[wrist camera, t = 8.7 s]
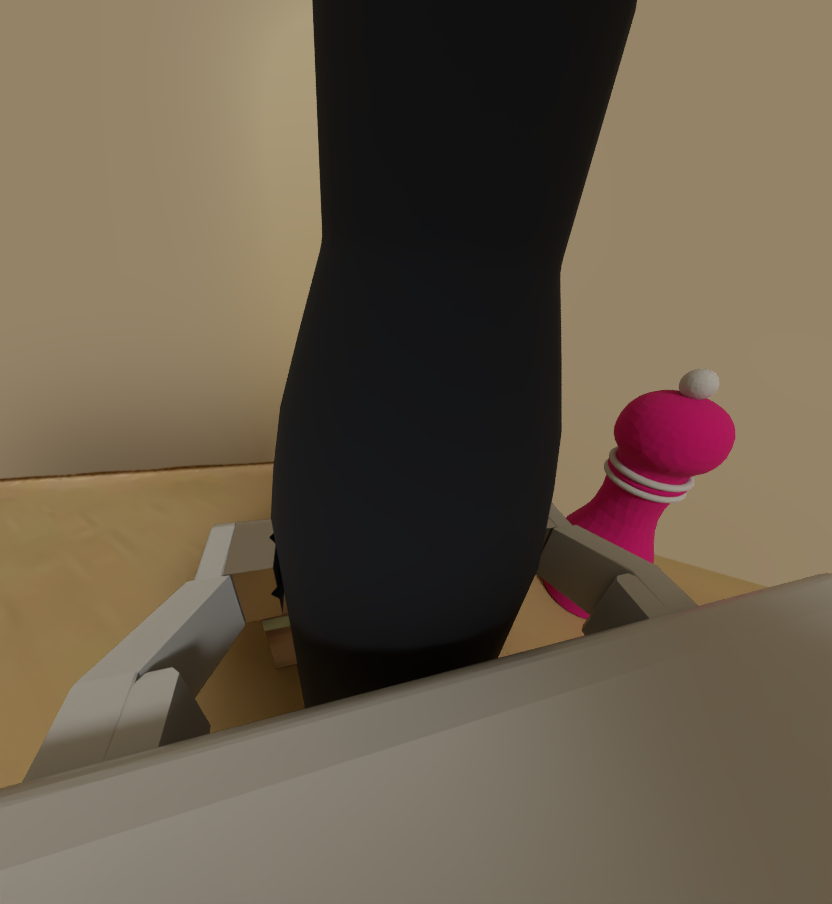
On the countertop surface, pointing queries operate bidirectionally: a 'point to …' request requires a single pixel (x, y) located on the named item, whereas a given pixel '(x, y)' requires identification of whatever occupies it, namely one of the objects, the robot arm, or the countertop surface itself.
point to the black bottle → (433, 327)
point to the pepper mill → (654, 465)
